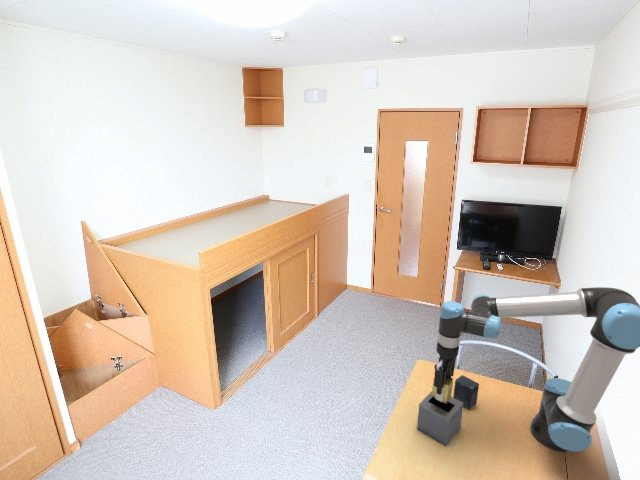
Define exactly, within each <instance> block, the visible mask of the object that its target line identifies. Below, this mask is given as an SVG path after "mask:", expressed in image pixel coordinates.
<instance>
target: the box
mask: <svg viewBox="0 0 640 480" xmlns="http://www.w3.org/2000/svg"><path fill="white" fill-rule="evenodd" d="M479 385H480V383H479V382H477V381H475V380H473V379H471V378H469V377H467V376H466V375H463V374H462V375H460V376H458V377H457V378H456V379H455V381H454V389H453V396H452V397H453V398H455V399H457V400H459V401H461V402H463V403H464V404H463V408H465V409H467V410H468V411H470V410H472V409H473V408H474V407H475V406H476V405H477V401H478V394H479V387H480V386H479Z"/></svg>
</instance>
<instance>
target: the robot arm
mask: <svg viewBox="0 0 640 480" xmlns="http://www.w3.org/2000/svg"><path fill="white" fill-rule="evenodd" d="M470 308H471V309H470V311H468V310H465V307H464V304H462V303H461V302H458V301H453V300H450V301H449V300H448V301H445V302H444V303H442V304H441V309H440V313H439V324H438V331H437V342H436V343H437V344H436V353H437V354H438V355H439V357H438V364H436V363H435V365H434V377H433V380H434V386H435V387H437V388H436V397H435V399H437V400H439V401H441V402H443V396H444V388H445V387H444V382H445V378H447V379H449V380H451V381H453V380H454V378H453V376H454V374H455V368H456V361H457V356H458V355H459V351H460V344H461V336H462V333H463V334H470V335H474V336H478V337H483V338H489V339H497V338H499V336H500V332H501V324H502V323H501V319H507V318H527V317H528V318H532V317H533V318H535V317H551V316H552V317H553V316H555V317H557V316H573V315H577V316H578V315H581V316H582V317H583V318H596V319H595V321H594V323H593V325H592V327H591V330H590V331H589V334H590V336H591V339H592V340H591V342H590V345H589V347H588V349H587V351H586V353H585V355H584V357H583V359H582V361H581V362H580V364H579V367H578V368H577V371H576V373H575V375H574V377H573V378H572V380H571V381H569V380H567V379H563V378H558V377H552V378H548V379H546V381H544V382H545V383H544V385H543V390H542V396H541V399H540V400H541V401H540V405H539V409H538V412H537V413H536V415H535V416H534V417H533V418H532V419H531V422H530V426H529V427H530V428H529V429H530V432H531V434H532V435H533V437H534V439H536V440H537V442H539V443H540V444H542V445H543V446H546V447H548V448H549V449H552V450H555V451H560V452H576V453H577V452H583V451H585V450H587V449H589V448H590V447H591V446H592V443H593V437H592V435H591V431H592V429H593V427H594V425H595V423H596V422H597V415H596V413H595V410H596V409H597V407H598V406H599V405H598V404H599V403H600V401H601V399H603V396H604V395H605V392H606V391H607V389H608V387H609V385H610V383H611V381H612V379H613V378H614V376H615V374H616V373H617V370H618V369H619V367H620V365H621V364H622V361H623V359H624V358H625V357H626V355H628V354H629V355H630V354H634V353H635V351H636V350H637V349H639V348H640V304H639V302H637V300H636V298H635V297H634V296H633V295H632V294H631V293H630V292H628V291H625V290H622V289H620V288H614V287H603V286H602V287H601V286H599V287H581V288H578V289H577V290H576V291H570V292H568V291H567V292H559V293H558V292H557V293H555V292H554V293H541V294H527V295H515V296H501V297H500V296H498V297H490V296H489V295H487V294H484V293H483V294H478V295H476V296H475V297H474V298H473V299H472V302H471V305H470ZM453 382H454V381H453Z"/></svg>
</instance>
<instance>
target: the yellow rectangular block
mask: <svg viewBox="0 0 640 480" xmlns="http://www.w3.org/2000/svg"><path fill="white" fill-rule="evenodd" d="M453 384H454V381H451V380H449V379H447V378H445V382H444V387H445V388H444V396H443V402H444V403H446V404H447V402H448V401H449V400H450V399H451V397H452V392H453V387H454V385H453ZM436 388H437V387H435V386H434V379H433V382H432V390H431V392H432V396H433V397H436Z"/></svg>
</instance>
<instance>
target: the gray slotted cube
mask: <svg viewBox="0 0 640 480" xmlns="http://www.w3.org/2000/svg"><path fill="white" fill-rule="evenodd" d="M463 404H464V403H463V402H461V401H459V400H457V399H455V398H453V396H451V399H450V400H449V401H448V402H447V404H446V403H444V402H441V401H439V400H437V399H435V397H433V396H432V391H430V393H428V395H427V396H425V397H424V398H423V399H422V400H421V402H420V403H419V405H418V414H417V426H416V430H418V431H419V432H421V433H423V434H424V435H426V436H427V437H429V438H430V439H433V440H434V441H436V442H438V443H439V444H441V445H442V446H444V447H447V446H448V445H449V443H450V442H451V440H453V438H454V437H455V436H456V434H457V433H458V432H459V430H461V426H462V425H461V424H462V417H463V411H464V407H463Z"/></svg>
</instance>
